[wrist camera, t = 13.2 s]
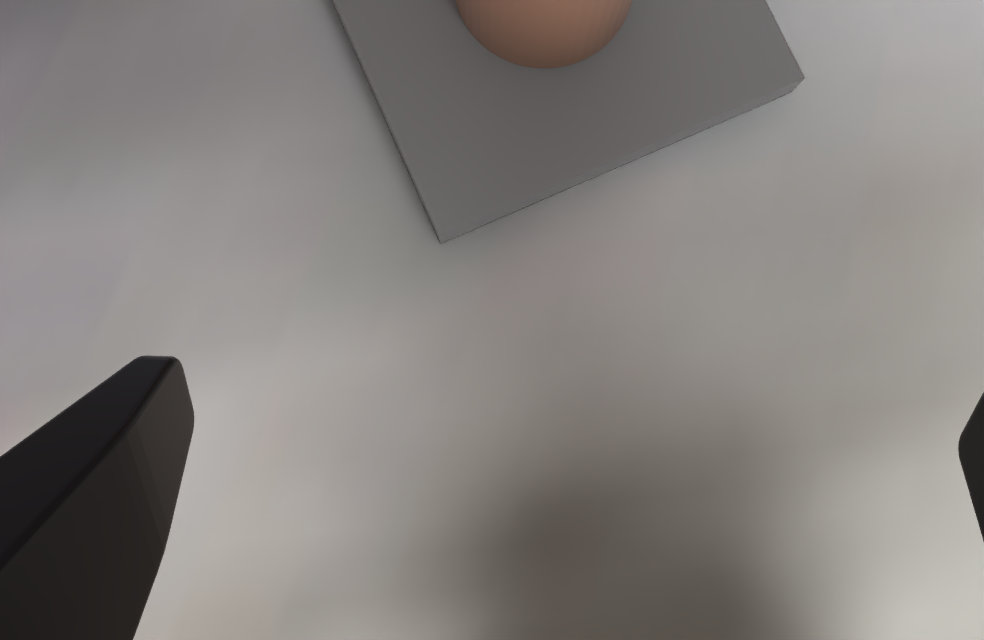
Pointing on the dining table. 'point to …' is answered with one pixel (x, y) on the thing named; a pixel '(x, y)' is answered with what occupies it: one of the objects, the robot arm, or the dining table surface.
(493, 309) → the dining table surface
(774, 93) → the mat
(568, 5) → the terracotta cylinder
